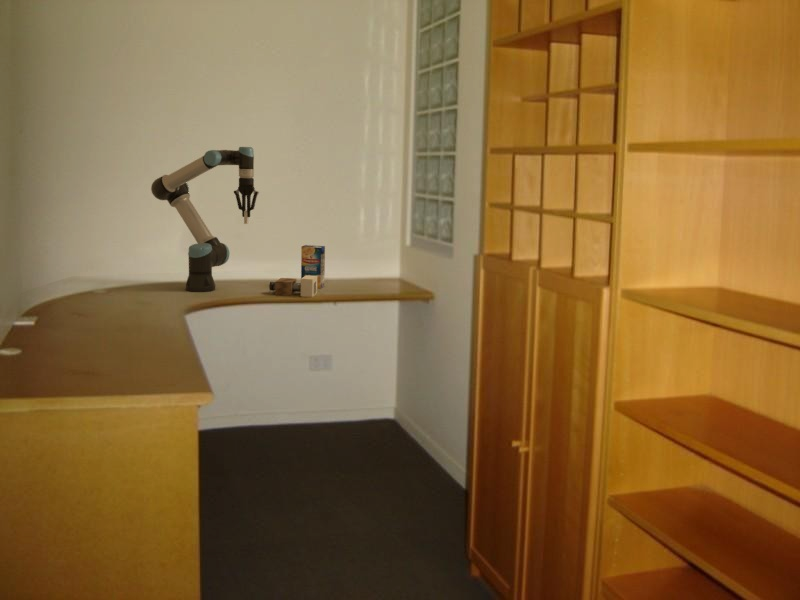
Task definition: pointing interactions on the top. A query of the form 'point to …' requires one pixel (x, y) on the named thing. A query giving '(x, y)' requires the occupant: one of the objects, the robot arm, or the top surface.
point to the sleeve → (284, 287)
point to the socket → (308, 286)
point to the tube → (295, 287)
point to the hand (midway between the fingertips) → (246, 223)
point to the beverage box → (313, 263)
